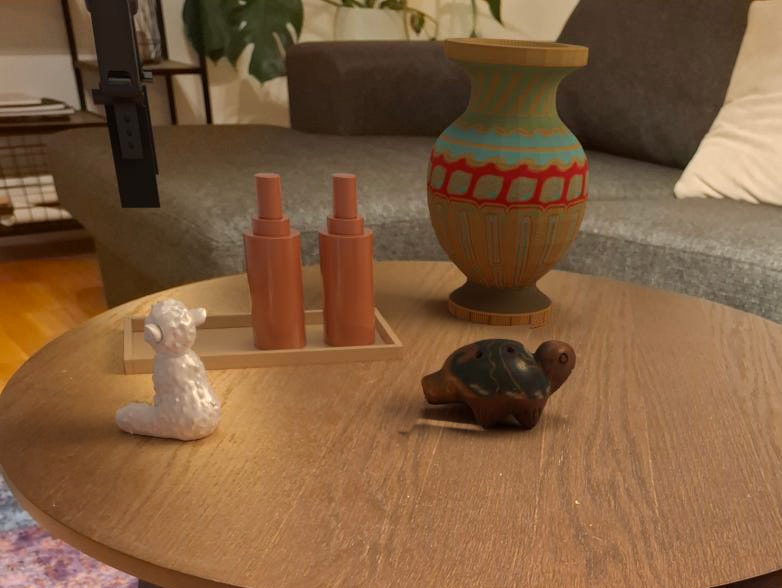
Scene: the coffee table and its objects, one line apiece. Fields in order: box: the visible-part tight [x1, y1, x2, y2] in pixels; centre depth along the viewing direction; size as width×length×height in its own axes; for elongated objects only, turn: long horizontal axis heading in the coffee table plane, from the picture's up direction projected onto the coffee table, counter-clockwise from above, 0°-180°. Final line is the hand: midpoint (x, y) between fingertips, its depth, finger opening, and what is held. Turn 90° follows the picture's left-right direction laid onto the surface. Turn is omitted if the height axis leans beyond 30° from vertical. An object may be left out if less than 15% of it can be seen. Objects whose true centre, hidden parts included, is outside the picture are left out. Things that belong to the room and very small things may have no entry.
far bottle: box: [317, 172, 376, 347], centre depth 101 cm, size 6×6×18 cm
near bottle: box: [242, 172, 307, 351], centre depth 98 cm, size 6×6×18 cm
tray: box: [122, 307, 405, 376], centre depth 103 cm, size 30×15×2 cm, turn 107°
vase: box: [426, 37, 590, 329], centre depth 110 cm, size 20×20×30 cm
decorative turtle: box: [420, 338, 577, 430], centre depth 88 cm, size 10×15×8 cm, turn 103°
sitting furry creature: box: [114, 297, 223, 441], centre depth 81 cm, size 10×9×12 cm
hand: (141, 189), depth 72 cm, fingers open, 13 cm apart
